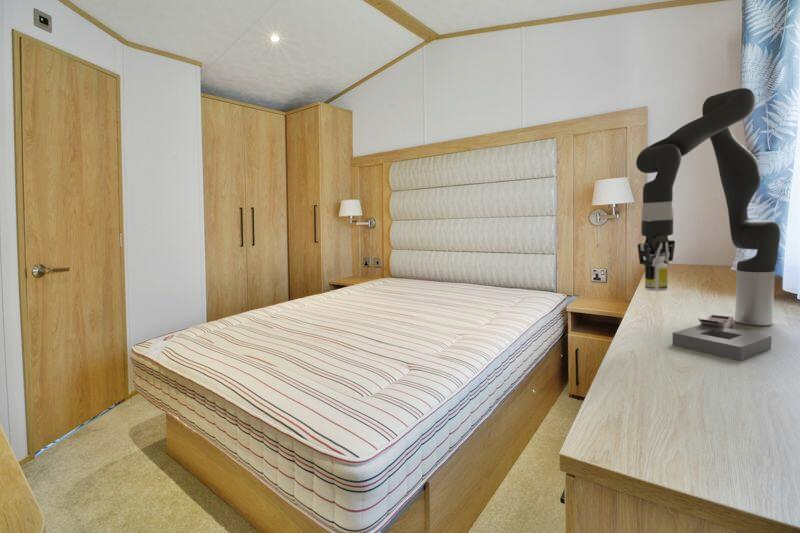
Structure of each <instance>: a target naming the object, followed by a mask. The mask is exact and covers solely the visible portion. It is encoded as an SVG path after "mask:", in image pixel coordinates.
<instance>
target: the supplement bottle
mask: <svg viewBox="0 0 800 533" xmlns="http://www.w3.org/2000/svg"><path fill="white" fill-rule="evenodd" d="M650 259H651V260H652V258H650ZM664 261H665V256H662V255H659V257H658V259H656V261H655V265H654V266H655V278H654V279H652V280H650V279H646V278H644V286H645V287H644V289H645V290H646V291H651V292H664V291H665V292H666V291H667V290H668V283H669V282H668V274H669V272H668V264H665V263H664Z"/></svg>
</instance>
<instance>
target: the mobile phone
mask: <svg viewBox="0 0 800 533" xmlns="http://www.w3.org/2000/svg"><path fill="white" fill-rule="evenodd" d="M697 320H698V321H699V323H700V325H701V324H705V325H713V326H719V327H725V328H730V329H731V326H732V325H733V323H734V317H733V316H730V315H729V316H727V315H722V314H720V315H719V314H710V316H708V317H707V319H704V318H699V317H698V318H697Z"/></svg>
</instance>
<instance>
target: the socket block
mask: <svg viewBox="0 0 800 533" xmlns="http://www.w3.org/2000/svg"><path fill="white" fill-rule="evenodd" d="M672 346H677V347H680V348H685V349H689V350H692V351H693V350H694V351H697V352H702V353H705V352H706V354H710V355H714V354H715V355H716V356H718V355H719V357H722V356H723V358H728V359H731V360H736V361H740V362H742V361H744V360H747V359H749V358H752V357H754V356H756V355H759V354H762V353H764V352H766V351H768V350H771V349H772V335H768V334H764V333H757V332H752V331H746V330H741V329H735V328H731V327H730V328H725V327H719V326H713V325H705V324H701V323H700V324H698V325H694V326H692V327H690V326H689V327H688V328H684V329H680V330H677V331H674V332H672ZM763 351H764V352H763ZM715 355H714V356H715ZM751 356H752V357H751Z"/></svg>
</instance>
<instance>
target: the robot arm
mask: <svg viewBox="0 0 800 533" xmlns="http://www.w3.org/2000/svg"><path fill="white" fill-rule="evenodd" d="M756 101H757V99H756V95H755V93H754V92H753V91H752V90H751V89H749V88H746V87H744V88H743V87H741V88H735V89H731V90H728V91H724V92H720V93H717V94H713V95H711V96H709V97H707V98H706V99H705V101H704V102H703V104H702V107H701V108H702V110H701V112H702V116H700V117H698V118H696V119H695V120H692V121H690V122H688V123H686V124H684V125H682V126H681V127H680V128H678V129H677V130H675V131H674V132H672V133H671V134H670V135H668V136H667V137H665V138H663V139H661V140H658V141H657V142H654V143H652V144H651V145H649V146H646V147H645V148H643V149H642V150H641V151H640V153H639V154H638V155H637V158H636V168H637V169H638V170H639V171H640V172H641V173H644V174H654V173H656V176H654V179H653V180H650V181H648V182H646V183H645V184H644V185H643V188H642V208H641V225H640V226H641V232H640V233H641V236H642V237H645V240H644V243H638V244H637V251H638V260H639V264H640V265H643V266H644V269H645V270H644V276H645V278H646V279H650V280H652V279H654V278H655V266H654V265H655V261H656V259H658V257H659V255H662V256H665V261H664V263H665V264H667V265H669V264H670V262H673V260H674V255H675V254H674V253H675V245H676V241H675V240H674V239H673V240H670V239H669V237H668V236H672V235H673V234H674V205H673V201H674V200H673V198H674V196H673V194H674V192H673V191H674V190H673V188H674V185H675V181H676V178H677V174H678V172H679V169H680V166H681V162H682V161H681V160H682V157H684V156H685V155H688V154H689V153H690V152H691V151H693V150H694V149H696V148H697V147H698V146H699V145H701V144H703V143H704V142H705V141H707V140H708V139H710V142H711V144H712V148H713V151H714V155H715V159H716V163H717V166H718V168H717V169H718V172H719V177H720V178H719V179H720V182H721V186H722V190H723V193H724V197H725V201H726V206H727V207H726V208H727V214H728V222H729V230H730V237H731V241H732V243H733V245H734V247H736V249H739V250H741V249H742V250H757V251H756V253H755V255H754V256H752V257H750V258H746V259H742V260H739V261H738V262H737V264H736V276H735V278H736V279H735V281H736V282H735V284H736V285H735V303H734V305H735V306H734V321H735V322H736V323H739V324H743V325H750V326H765V327H766V326H771V325H773V314H774V296H775V280H776V279H775V274H776V266H777V264H778V263H777V262H778V258H779V257H778V256H779V246H780V239H781V230H780V228H781V227H780V225H779V224H778V223H777V222H776V221H775V220H750V219H749V216H748V214H749V213H748V207H749V204H750V202H751V200H752V199H753V198H754V196H755V194H756V192H757V190H758V189H759V187H760V185H761V182H762V178H761V172H760V171H761V170H760V167H759V162H758V159H757V158H756V157H755V155H754V154H753V153H752V152H751V151H750V150H749V149H748V148H746V147H745V146H744V145H743V144H741V142H739V141H738V140H737V139H736V137H735V136H734V134H733V133H732V130H731V126H733V125H735V124H738V123H739V122H742V121H743V120H746V119H747V118H749V116H751V115H752V113H754V110H755V109H756ZM650 258H652V260H651V259H650ZM645 278H644V279H645Z"/></svg>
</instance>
